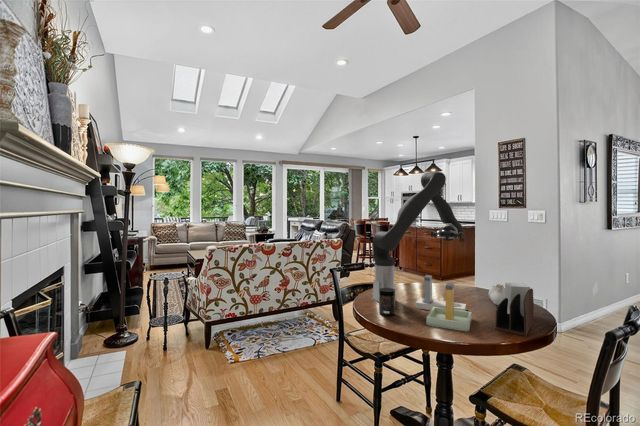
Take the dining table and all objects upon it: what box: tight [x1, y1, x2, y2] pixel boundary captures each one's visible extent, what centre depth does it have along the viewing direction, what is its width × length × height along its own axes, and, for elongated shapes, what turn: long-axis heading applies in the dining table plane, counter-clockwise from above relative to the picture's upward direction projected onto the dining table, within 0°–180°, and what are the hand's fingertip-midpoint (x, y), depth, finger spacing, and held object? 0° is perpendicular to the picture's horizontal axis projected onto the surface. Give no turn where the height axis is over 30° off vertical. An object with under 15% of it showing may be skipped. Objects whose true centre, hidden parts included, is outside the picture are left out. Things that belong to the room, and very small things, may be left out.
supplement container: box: [378, 288, 396, 317], centre depth 142 cm, size 7×7×10 cm
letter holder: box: [495, 287, 535, 337], centre depth 128 cm, size 10×20×14 cm, turn 141°
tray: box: [426, 307, 473, 333], centre depth 132 cm, size 15×15×3 cm
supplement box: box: [504, 282, 531, 316], centre depth 141 cm, size 7×7×13 cm
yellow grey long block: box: [445, 282, 455, 320], centre depth 132 cm, size 2×5×14 cm, turn 151°
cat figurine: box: [488, 283, 505, 306], centre depth 156 cm, size 10×8×15 cm
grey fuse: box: [423, 274, 433, 304], centre depth 151 cm, size 2×5×14 cm, turn 152°
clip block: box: [415, 297, 467, 311], centre depth 149 cm, size 20×8×3 cm, turn 62°
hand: (444, 235), depth 154 cm, fingers open, 8 cm apart
